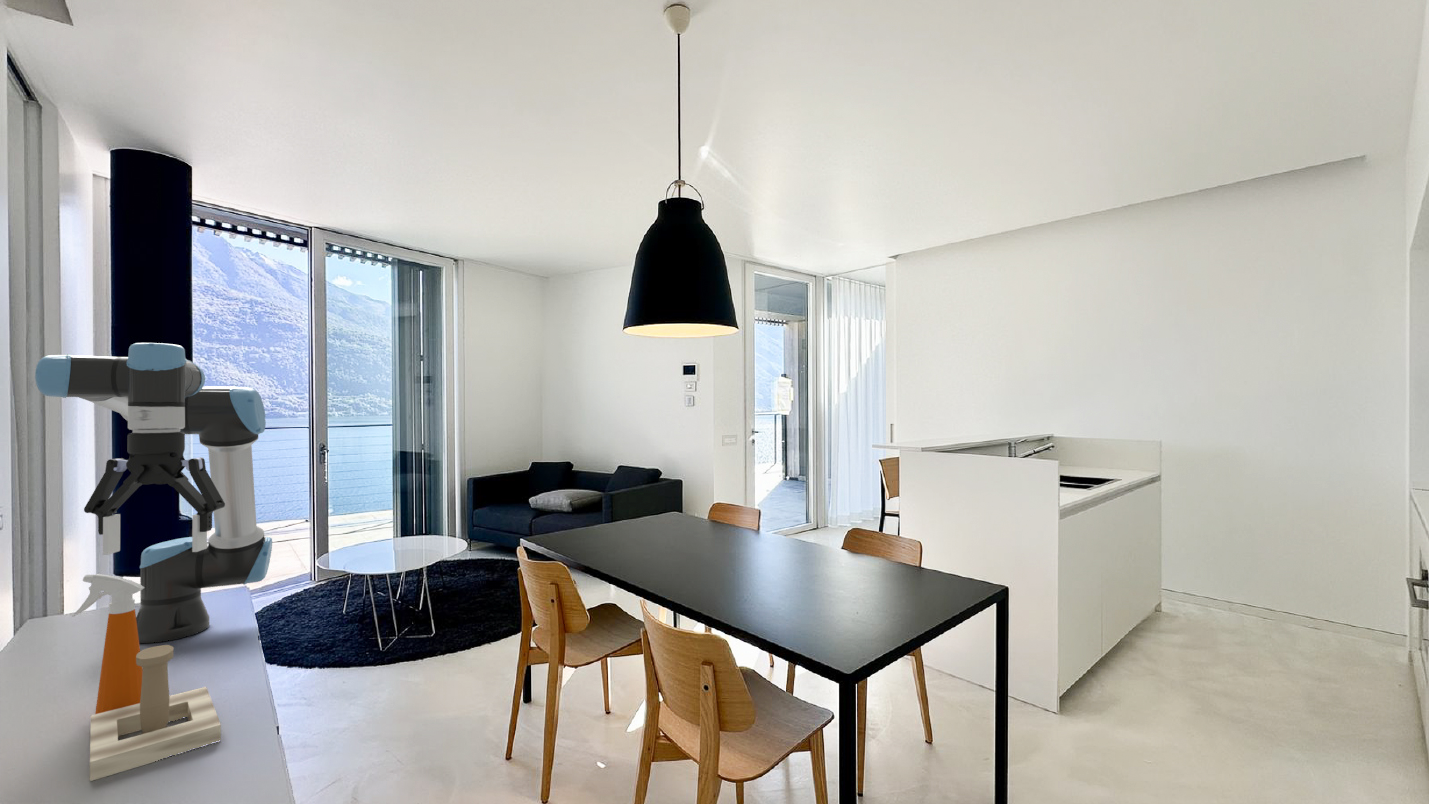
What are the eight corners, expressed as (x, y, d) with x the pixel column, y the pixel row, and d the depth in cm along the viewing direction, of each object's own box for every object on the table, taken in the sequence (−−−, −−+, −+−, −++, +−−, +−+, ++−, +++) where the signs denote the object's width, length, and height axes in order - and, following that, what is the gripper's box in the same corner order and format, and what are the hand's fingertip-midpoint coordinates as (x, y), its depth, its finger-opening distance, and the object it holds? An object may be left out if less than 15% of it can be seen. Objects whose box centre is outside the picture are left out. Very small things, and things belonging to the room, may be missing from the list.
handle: (134, 749, 105) (135, 661, 105) (137, 734, 110) (137, 649, 110) (172, 739, 108) (173, 653, 108) (173, 724, 113) (173, 642, 113)
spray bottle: (83, 707, 119) (84, 570, 119) (153, 698, 123) (154, 565, 123) (59, 725, 112) (60, 580, 112) (135, 715, 116) (135, 575, 116)
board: (90, 732, 110) (90, 715, 110) (206, 701, 121) (206, 686, 121) (89, 781, 96) (89, 761, 96) (220, 741, 107) (220, 724, 107)
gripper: (55, 432, 103) (54, 559, 103) (223, 432, 107) (222, 554, 107) (92, 430, 110) (91, 548, 110) (247, 430, 115) (247, 544, 115)
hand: (156, 551), depth 109 cm, fingers open, 13 cm apart
